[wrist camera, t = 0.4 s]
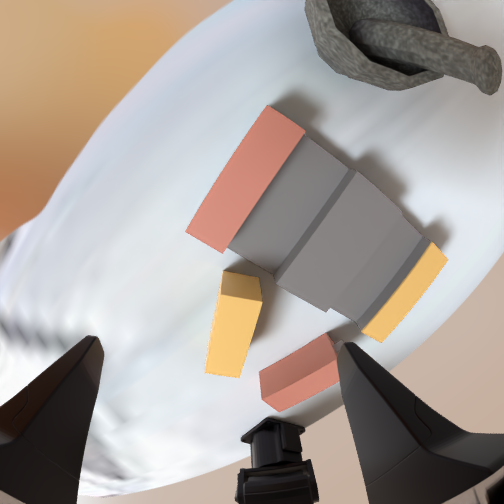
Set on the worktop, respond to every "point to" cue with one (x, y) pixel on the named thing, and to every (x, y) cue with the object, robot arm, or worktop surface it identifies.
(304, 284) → the slot rack
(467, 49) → the mortar and pestle
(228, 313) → the ochre plug
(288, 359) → the brick plug
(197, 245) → the worktop surface
